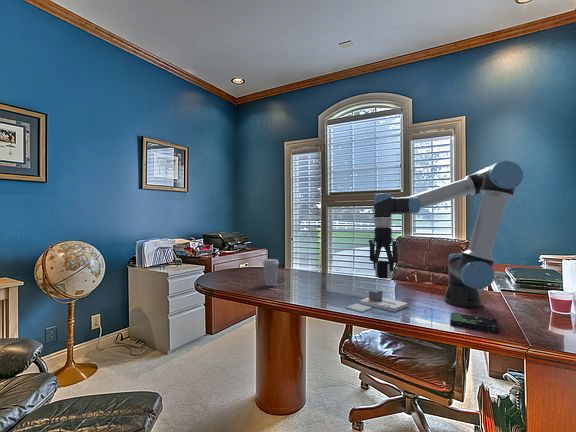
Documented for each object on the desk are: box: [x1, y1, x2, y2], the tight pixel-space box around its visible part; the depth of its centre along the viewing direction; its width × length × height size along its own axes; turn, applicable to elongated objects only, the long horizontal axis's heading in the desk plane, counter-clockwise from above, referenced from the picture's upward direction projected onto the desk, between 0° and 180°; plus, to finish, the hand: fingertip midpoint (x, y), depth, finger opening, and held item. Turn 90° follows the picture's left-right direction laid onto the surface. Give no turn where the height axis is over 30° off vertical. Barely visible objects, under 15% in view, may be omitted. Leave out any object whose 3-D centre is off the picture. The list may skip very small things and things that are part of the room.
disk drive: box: [450, 312, 500, 335], centre depth 109 cm, size 10×3×15 cm
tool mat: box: [345, 303, 373, 313], centre depth 129 cm, size 8×8×1 cm
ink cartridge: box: [377, 260, 389, 280], centre depth 135 cm, size 5×2×8 cm, turn 76°
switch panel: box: [359, 296, 409, 313], centre depth 134 cm, size 17×12×2 cm
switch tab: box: [368, 289, 383, 301], centre depth 137 cm, size 4×5×4 cm
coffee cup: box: [262, 258, 280, 287], centre depth 171 cm, size 10×10×15 cm
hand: (383, 277), depth 135 cm, fingers closed on ink cartridge, 5 cm apart
